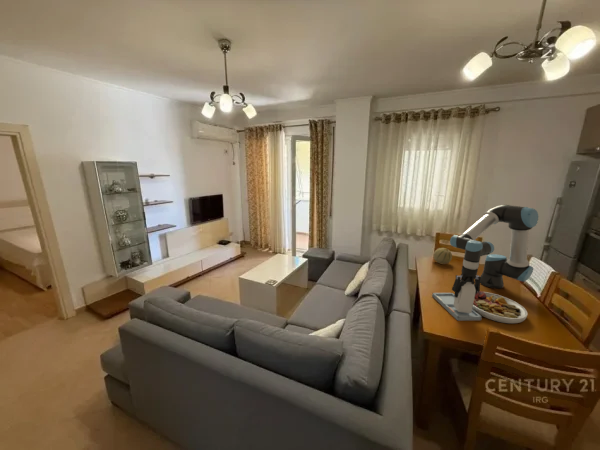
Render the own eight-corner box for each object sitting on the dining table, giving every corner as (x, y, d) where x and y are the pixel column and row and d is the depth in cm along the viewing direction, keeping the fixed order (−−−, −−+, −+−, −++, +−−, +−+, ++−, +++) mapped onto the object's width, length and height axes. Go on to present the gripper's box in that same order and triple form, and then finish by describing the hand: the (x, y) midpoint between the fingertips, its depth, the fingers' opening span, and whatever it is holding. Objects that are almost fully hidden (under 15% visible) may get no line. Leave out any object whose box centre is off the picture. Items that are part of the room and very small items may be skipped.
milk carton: (471, 313, 144) (477, 284, 139) (458, 312, 145) (463, 283, 140) (465, 306, 150) (471, 278, 146) (453, 305, 152) (458, 277, 147)
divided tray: (451, 295, 168) (452, 292, 167) (481, 320, 142) (481, 316, 141) (432, 296, 167) (432, 292, 167) (457, 320, 141) (458, 316, 141)
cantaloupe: (433, 258, 233) (435, 244, 229) (451, 262, 225) (453, 247, 221) (431, 264, 221) (433, 248, 218) (450, 267, 213) (452, 251, 210)
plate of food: (534, 316, 146) (537, 304, 144) (512, 333, 132) (515, 320, 130) (478, 293, 171) (481, 283, 169) (455, 305, 157) (457, 294, 155)
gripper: (482, 264, 145) (475, 298, 150) (448, 264, 144) (442, 298, 150) (492, 269, 137) (485, 305, 143) (456, 269, 137) (450, 305, 142)
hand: (463, 301), depth 146 cm, fingers closed on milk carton, 8 cm apart
